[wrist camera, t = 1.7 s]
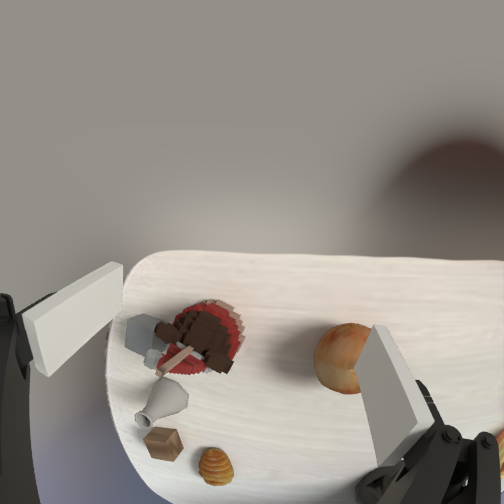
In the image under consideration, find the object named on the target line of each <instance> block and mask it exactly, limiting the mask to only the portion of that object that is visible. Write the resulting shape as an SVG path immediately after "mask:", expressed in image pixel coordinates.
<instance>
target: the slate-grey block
mask: <svg viewBox="0 0 504 504" xmlns="http://www.w3.org/2000/svg"><path fill="white" fill-rule="evenodd" d="M159 322H161V320H159V319H156V318H154V317H151V316H149V315H146V314H142V315H139V316H136V317H133V318H130V319H128V322H127V330H126V340H125V347H126V348H128V349H130V350H132V351H134V352H136V353H138V354H140V355H142V356H144V357H145V356H146V353H147V351H148V350H150V349H153V350H155V349H156V350H157V351H159V352H162V351H164V350H165V344H166V343H165V342H164V341H162V340H161V339H159V338H157V337H156V336H155V335H156V333H154V329H155V327H156V324H157V323H159ZM162 322H164V321H162ZM164 323H165V324H166V322H164Z"/></svg>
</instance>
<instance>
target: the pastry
mask: <svg viewBox="0 0 504 504" xmlns="http://www.w3.org/2000/svg"><path fill="white" fill-rule="evenodd" d="M199 468H200V471H199V473H200V475H201V477H203V479H204V480H205V482H206V483H207V484H210V485H213V486H219V485H221V486H222V485H226V484H228V483H230V482H231V480H232V478H233V476H234V473H233V468H232V465H231V462H230V461H229V458H228V456H227V454H225V453H224V451H223V450H221V449H216V448H210V449H207V450H205V451H204V452H203V455H202V456H201V460H200V462H199Z"/></svg>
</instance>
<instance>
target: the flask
mask: <svg viewBox="0 0 504 504" xmlns="http://www.w3.org/2000/svg"><path fill="white" fill-rule="evenodd" d="M188 396H189V394H188V393H187V392H186V391H185V390H184V389H183V388H182V387H181V385H180V384H179V383H178V382H175V381H173V380H170V379H168V378H165V377H162V378H161V379H160V380H158V381H157V382H156V383H155V384H154V386H153V388H152V392H151V395H150V397H149V400H148V402H147V405H146V406H145V408H144V409H143V410H142V411H139V412H138V413H136V414H135V421H136V422H137V423H138V424H139V425H140V426H141V427H143V428H145V429H147V430H148V429H149V428H151V427H152V426H153V423H154V422H155V421H156V420H157V419H159V418H162V417H166V416H169V415H173V414H176V413H178V412H180V411H181V410H183V409H185V408H186V407H187V404H188Z"/></svg>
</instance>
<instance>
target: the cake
mask: <svg viewBox="0 0 504 504" xmlns="http://www.w3.org/2000/svg"><path fill="white" fill-rule="evenodd" d="M233 309H234V307H233V306H231V305H229V304H227V303H225V302H223V301H221V300H219V299H218V300H217V301H216V303H215V302H213V301H211V300H210V299H208V300H207V302H204V301H203V302H202V303H200V304H199V303H197V304H196V305H194V306H190V307H188V308H186V309H184V310H183V312H182V313H180V314H178V315H176V318H175V320H174V323H173V325H171V324H170V323H166V324H165V323H164V322H162V321H161V322H159V323H157V324H156V327H155V329H154V333H156V335H155V336H156V337H157V338H159V339H161V340H162V341H164V342H165V343H167V344H166V347H167V350H168V351H167V353H166V355H164V354H162V353H161V352H159V351H157V350H156V349H155V350H153V349H150V350H148V351H147V353H146V356H145V359H144V363H145V364H144V365H145V366H147V367H148V368H150V369H154V370H156V369H157V370H156V373H155V374H156V375H157V376H159V377H160V378H161V377H162V376H163V375H165V374H166V373H168V372H169V373H174V374H175V373H177V374H179V373H180V374H185V375H186V374H188V375H190V374H191V373H192V374H195V373H198V374H199V373H200V372H203V373H204V372H206V373H208V372H211V371H212V370H213V371H216V372H218V373H220V374H221V372H224V373H226V374H227V373H228V372H229V371H230V369H231V367H232V365H233V363H234V361H232V359H233V358H234V356H235V354H236V352H238V351H239V349H240V347H241V345H242V343H243V341H244V339H245V336H243V335H242V332H243V330H244V328H245V327H244V326H242V325H241V324H242V322H243V321H241V320H239V318H240V316H241V315H239V314H237V313H235V312H233Z"/></svg>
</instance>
